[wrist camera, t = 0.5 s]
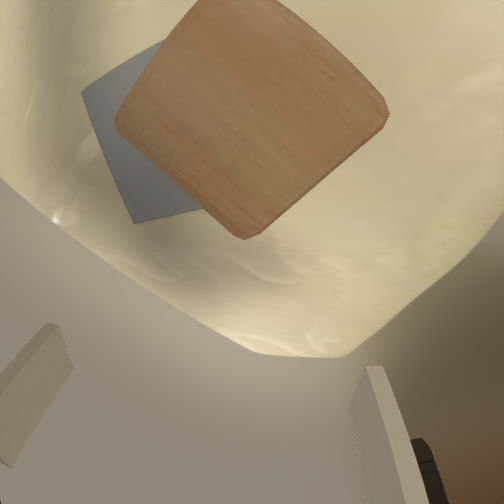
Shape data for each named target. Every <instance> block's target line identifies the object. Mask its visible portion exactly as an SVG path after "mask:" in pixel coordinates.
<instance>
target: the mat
mask: <svg viewBox="0 0 504 504" xmlns="http://www.w3.org/2000/svg"><path fill="white" fill-rule="evenodd" d="M164 41H165V40H163V41H161V42H159V43H157V44H155V45H153V46H151V47H150V48H148V49H146V50H144V51H143V52H141V53H139V54H137V55H136V56H134V57H132V58H131V59H129V60H127V61H126V62H124V63H122V64H121V65H119V66H118V67H116V68H115V69H113V70H112V71H110V72H109V73H107V74H106V75H104V76H103V77H101V78H100V79H98V80H97V81H95V82H94V83H93V84H91V85H90V86H88V87H87V88H86V89H84V90H83V91H82V92H81V94H82V97H83V100H84V103H85V106H86V109H87V111H88V114H89V117H90V120H91V123H92V125H93V128H94V131H95V133H96V136H97V139H98V141H99V144H100V146H101V149H102V151H103V154H104V156H105V159H106V161H107V164H108V166H109V168H110V171H111V173H112V176H113V178H114V180H115V183H116V185H117V187H118V189H119V192H120V194H121V196H122V198H123V201H124V203H125V205H126V207H127V209H128V212H129V214H130V216H131V218H132V220H133V222H134V224H137V223H141V222H145V221H149V220H154V219H158V218H162V217H166V216H171V215H175V214H180V213H184V212H189V211H193V210H198V209H202V207H201V206H200V205H199V204H198V203H197V202H196V201H195V200H193V199H192V198H191V197H190V196H189V195H188V194H187V193H186V192H184V191H183V190H182V189H181V188H180V187H179V186H178V185H177V184H175V183H174V182H173V181H172V180H171V179H170V178H169V177H167V176H166V175H165V174H164V173H163V172H162V171H161V170H160V169H158V168H157V167H156V166H155V165H154V164H153V163H152V162H151V161H149V160H148V159H147V158H146V157H145V156H144V155H143V154H142V153H140V152H139V151H138V150H137V149H136V148H135V147H134V146H133V145H131V144H130V143H129V142H128V141H127V140H126V139H125V138H124V137H122V136H121V135H120V134H119V133H118V131H117V129H116V127H115V126H114V120H115V115H116V113H117V111H118V109H119V108H120V106H121V104H122V103H123V101H124V99H125V98H126V96H127V94H128V93H129V91H130V90H131V88H132V86H133V85H134V83H135V82H136V80H137V79H138V77H139V76H140V74H141V73H142V71H143V70H144V68H145V67H146V65H147V64H148V62H149V61H150V60H151V58H152V57H153V55H154V54H155V53H156V51H157V50H158V49H159V47H160V46H161V45H162V43H163V42H164Z"/></svg>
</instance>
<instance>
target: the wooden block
mask: <svg viewBox="0 0 504 504" xmlns="http://www.w3.org/2000/svg"><path fill="white" fill-rule="evenodd" d="M389 114H390V113H389V110H388V107H387V105H386V102H385V99H384V97H383V96H382V95H381V94H380V93H379V91H378V90H377V89H376V88H375V87H374V86H373V85H372V84H371V83H370V82H369V81H368V80H367V78H366V77H365V76H364V75H363V74H362V73H361V72H360V71H359V70H358V69H357V68H356V67H355V66H354V65H353V64H352V63H351V62H350V61H349V60H348V59H347V58H346V57H345V56H344V55H343V54H342V53H340V52H339V51H338V50H337V49H336V48H335V47H334V46H333V45H332V44H331V43H330V42H328V41H327V40H326V39H325V38H324V37H323V36H322V35H320V34H319V33H318V32H317V31H316V30H315V29H313V28H312V27H311V26H310V25H309V24H307V23H306V22H305V21H304V20H302V19H301V18H300V17H299V16H297V15H296V14H295V13H293V12H292V11H291V10H290V9H288V8H287V7H286V6H284V5H283V4H281V3H280V2H279V1H277V0H198V1H197V2H196V3H195V4H194V5H193V6H192V8H191V9H190V10H189V11H188V12H187V13H186V15H185V16H184V17H183V18H182V19H181V20H180V22H179V23H178V24H177V25H176V27H175V28H174V29H173V30H172V32H171V33H170V34H169V35H168V37H167V38H166V39H165V41H164V42H163V43H162V45H161V46H160V47H159V49H158V50H157V51H156V53H155V54H154V55H153V57H152V58H151V60H150V61H149V62H148V64H147V65H146V67H145V68H144V70H143V71H142V73H141V74H140V76H139V77H138V79H137V80H136V82H135V83H134V85H133V86H132V88H131V90H130V91H129V93H128V94H127V96H126V98H125V99H124V101H123V103H122V104H121V106H120V108H119V109H118V111H117V113H116V115H115V120H114V126H115V127H116V129H117V131H118V133H119V134H120V135H121V136H122V137H124V138H125V139H126V140H127V141H128V142H129V143H130V144H131V145H133V146H134V147H135V148H136V149H137V150H138V151H139V152H140V153H142V154H143V155H144V156H145V157H146V158H147V159H148V160H149V161H151V162H152V163H153V164H154V165H155V166H156V167H157V168H158V169H160V170H161V171H162V172H163V173H164V174H165V175H166V176H167V177H169V178H170V179H171V180H172V181H173V182H174V183H175V184H177V185H178V186H179V187H180V188H181V189H182V190H183V191H184V192H186V193H187V194H188V195H189V196H190V197H191V198H192V199H193V200H195V201H196V202H197V203H198V204H199V205H200V206H201V207H202V208H204V209H205V210H206V211H207V212H208V213H209V214H210V215H211V216H213V217H214V218H215V219H216V220H217V221H218V222H219V223H220V224H222V225H223V226H224V227H225V228H226V229H227V230H228V231H229V232H231V233H232V234H233V235H234V236H236V237H239V238H241V239H243V240H246V239H248V238H251V237H253V236H255V235H258V234H260V233H261V232H263V231H264V230H265V229H266V228H267V227H268V226H269V225H271V224H272V223H273V222H274V221H275V220H276V219H278V218H279V217H280V216H281V215H282V214H283V213H284V212H286V211H287V210H288V209H289V208H290V207H291V206H293V205H294V204H295V203H296V202H297V201H298V200H300V199H301V198H302V197H303V196H304V195H305V194H307V193H308V192H309V191H310V190H311V189H312V188H313V187H315V186H316V185H317V184H318V183H319V182H320V181H322V180H323V179H324V178H325V177H326V176H327V175H329V174H330V173H331V172H332V171H333V170H334V169H336V168H337V167H338V166H339V165H340V164H342V163H343V162H344V161H345V160H346V159H347V158H349V157H350V156H351V155H352V154H353V153H354V152H356V151H357V150H358V149H359V148H360V147H361V146H363V145H364V144H365V143H366V142H367V141H369V140H370V139H371V138H372V137H373V136H374V135H376V134H377V133H378V132H379V131H380V130H381V129H383V127H384V125H385V123H386V121H387V119H388V116H389Z"/></svg>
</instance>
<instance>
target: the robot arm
mask: <svg viewBox="0 0 504 504" xmlns="http://www.w3.org/2000/svg"><path fill="white" fill-rule="evenodd" d="M73 370H74V369H73V366H72V363H71V361H70V358H69V355H68V352H67V350H66V346H65V343H64V340H63V337H62V334H61V331H60V327H59V325H55V324H52V323H48V322H47V323H46V324H45V325H44V326H43V327H42V328H41V329H40V330H39V331H38V332H37V333H36V334H35V335H34V337H33V338H32V339H31V340H30V341H29V342H28V343H27V344H26V345H25V346H24V347H23V348H22V350H21V351H20V352H19V353H18V354H17V355H16V356H15V357H14V359H13V360H12V361H11V362H10V363H9V364H8V365H7V367H6V368H5V369H4V370H3V371H2V372H1V374H0V462H1V463H3V464H4V465H6V466H8V467H9V468H10V469H12V468H13V466H14V464H15V462H16V460H17V459H18V457H19V455H20V453H21V452H22V450H23V448H24V447H25V445H26V443H27V441H28V440H29V438H30V437H31V435H32V433H33V432H34V430H35V428H36V427H37V425H38V424H39V422H40V420H41V419H42V417H43V415H44V414H45V412H46V411H47V409H48V408H49V406H50V405H51V403H52V402H53V400H54V398H55V397H56V395H57V394H58V392H59V391H60V389H61V388H62V386H63V385H64V383H65V382H66V381H67V379H68V378H69V376H70V375H71V373H72V372H73ZM347 411H348V417H349V421H350V426H351V431H352V435H353V440H354V446H355V451H356V456H357V461H358V466H359V472H360V478H361V483H362V489H363V495H364V502H365V504H449V502H448V500H447V496H446V493H445V490H444V487H443V484H442V481H441V477H440V474H439V471H438V470H437V466H436V463H435V461H434V457H433V454H432V451H431V449H430V447H429V446H428V444H426V442H425V441H424V440H423V439H422V438H418V439H413V440H410V439H409V436H408V433H407V430H406V428H405V424H404V422H403V419H402V416H401V413H400V411H399V408H398V405H397V402H396V400H395V397H394V394H393V392H392V389H391V387H390V384H389V382H388V379H387V376H386V374H385V371H384V369H383V366H366V367H365V369H364V371H363V374H362V376H361V378H360V381H359V383H358V385H357V388H356V390H355V392H354V394H353V397H352V399H351V401H350V403H349V405H348V408H347ZM0 504H1V502H0Z"/></svg>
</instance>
